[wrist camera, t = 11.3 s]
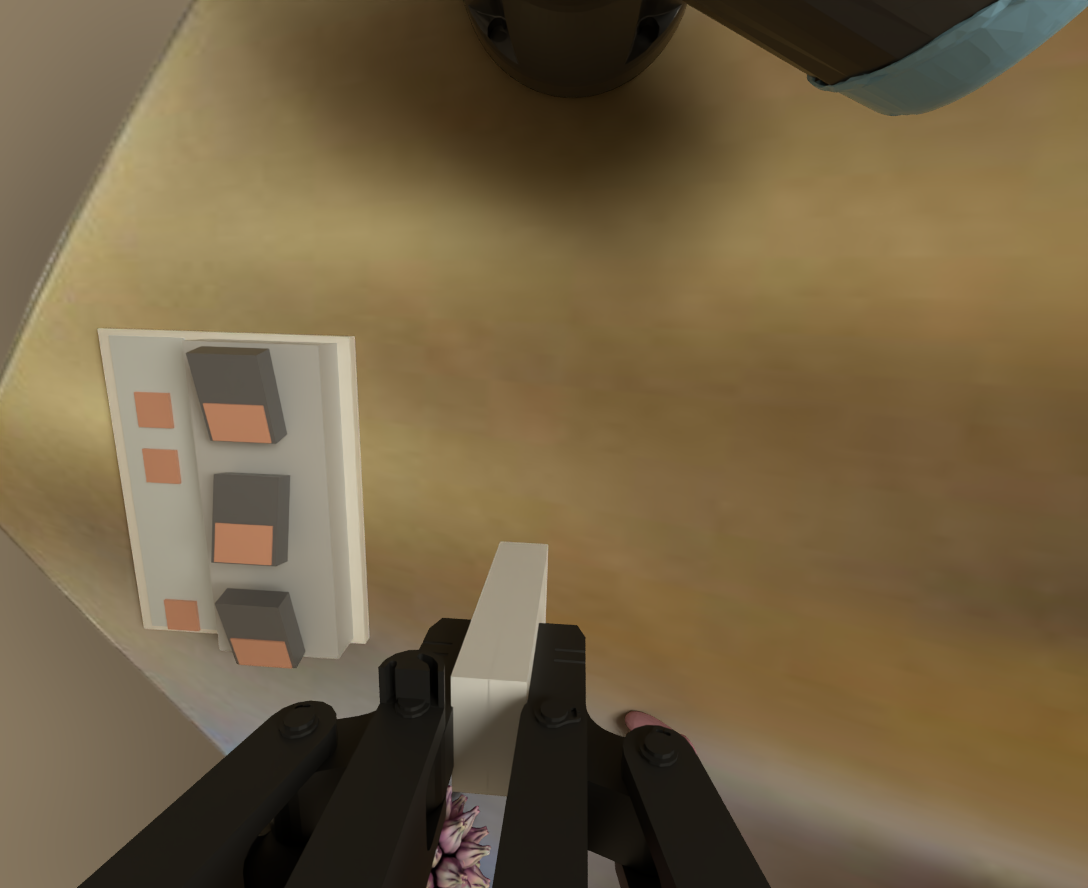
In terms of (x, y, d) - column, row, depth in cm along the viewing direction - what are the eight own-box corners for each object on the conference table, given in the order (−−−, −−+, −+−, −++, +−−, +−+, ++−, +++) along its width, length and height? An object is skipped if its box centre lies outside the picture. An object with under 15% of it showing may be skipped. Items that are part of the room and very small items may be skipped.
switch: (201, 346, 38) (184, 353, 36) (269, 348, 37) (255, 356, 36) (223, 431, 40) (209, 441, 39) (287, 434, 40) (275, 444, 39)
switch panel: (108, 327, 44) (61, 329, 40) (354, 336, 42) (331, 338, 39) (152, 622, 50) (116, 648, 46) (369, 637, 48) (350, 665, 45)
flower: (355, 806, 53) (292, 944, 41) (426, 726, 50) (378, 849, 39) (452, 871, 54) (416, 1024, 42) (526, 796, 51) (509, 936, 40)
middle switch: (227, 472, 41) (212, 473, 39) (290, 475, 41) (277, 477, 39) (225, 557, 41) (209, 562, 40) (287, 561, 41) (274, 566, 39)
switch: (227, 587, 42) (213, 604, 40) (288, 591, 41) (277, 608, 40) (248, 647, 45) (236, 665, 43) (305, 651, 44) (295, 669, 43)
